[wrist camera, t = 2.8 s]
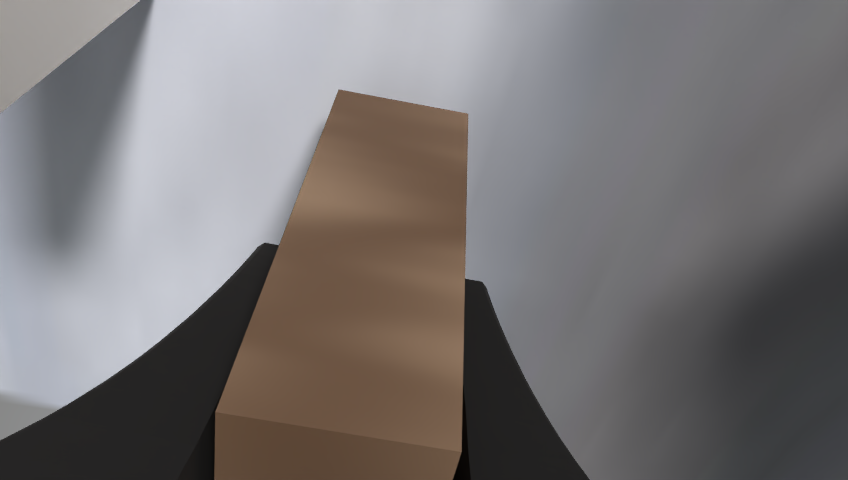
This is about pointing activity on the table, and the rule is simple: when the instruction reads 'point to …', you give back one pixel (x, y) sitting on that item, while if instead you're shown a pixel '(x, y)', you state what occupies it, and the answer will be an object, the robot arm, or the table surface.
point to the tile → (46, 37)
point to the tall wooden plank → (360, 310)
